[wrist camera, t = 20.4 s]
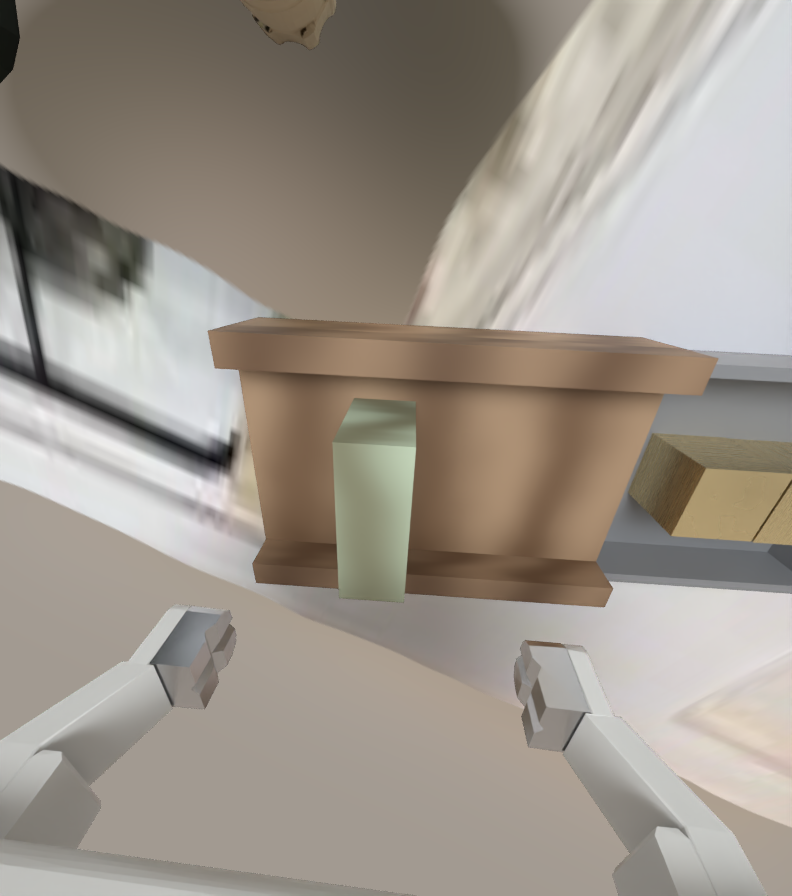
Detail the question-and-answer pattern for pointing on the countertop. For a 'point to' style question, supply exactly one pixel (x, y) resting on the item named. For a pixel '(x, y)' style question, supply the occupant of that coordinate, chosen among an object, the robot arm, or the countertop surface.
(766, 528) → the brass block
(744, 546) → the tray
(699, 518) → the brass block
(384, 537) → the bar
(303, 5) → the handle
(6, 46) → the potion bottle
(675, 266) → the countertop surface
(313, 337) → the slot board
